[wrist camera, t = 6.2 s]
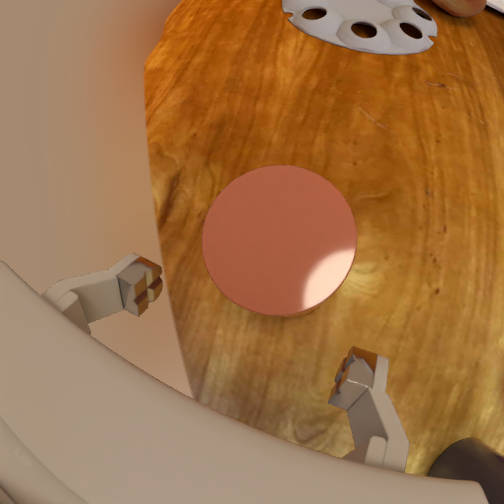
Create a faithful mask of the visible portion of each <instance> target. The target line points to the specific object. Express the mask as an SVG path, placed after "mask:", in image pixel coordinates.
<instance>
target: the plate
mask: <svg viewBox="0 0 504 504" xmlns="http://www.w3.org/2000/svg"><path fill="white" fill-rule="evenodd" d="M486 5H488V6H490V7H492V8H494V9H496V10H498V11H500V12H502V13H504V0H487V2H486Z"/></svg>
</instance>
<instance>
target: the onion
mask: <svg viewBox="0 0 504 504" xmlns="http://www.w3.org/2000/svg"><path fill="white" fill-rule="evenodd" d="M432 1H433V2H434V3H435V4H437V5H438V6H439V7H441V8H442V9H443V10H445V11H446V12H448V13H449V14H451V15H453V16H458V17H470V16H474V15H477V14H478V13H480V12H481V11H482V10H483V9H484V8H485V6H486V2H487V0H432Z"/></svg>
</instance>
